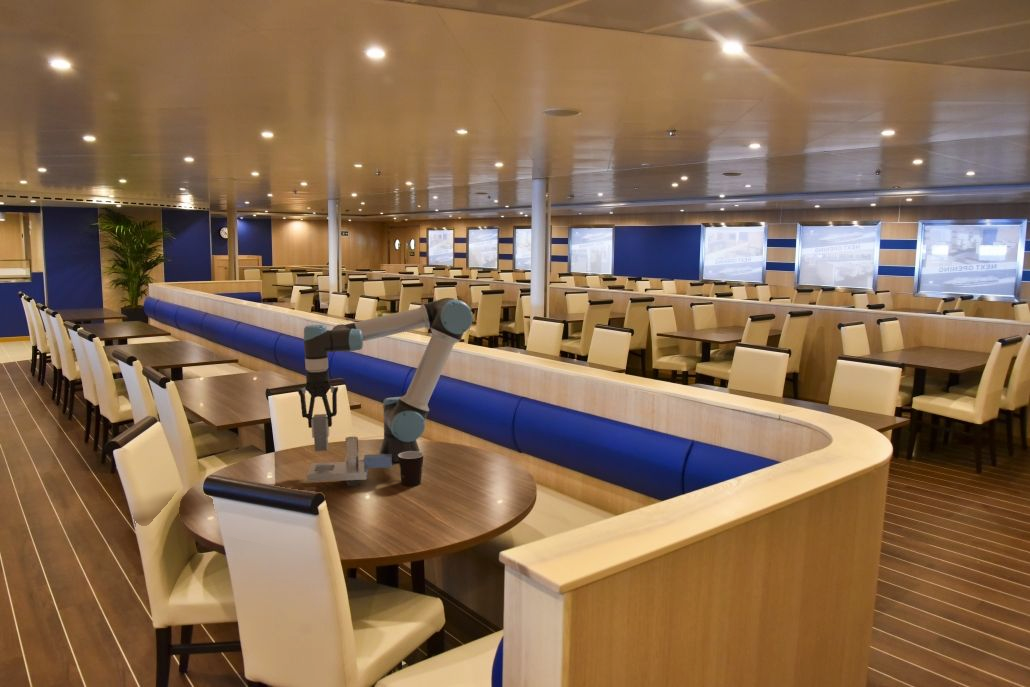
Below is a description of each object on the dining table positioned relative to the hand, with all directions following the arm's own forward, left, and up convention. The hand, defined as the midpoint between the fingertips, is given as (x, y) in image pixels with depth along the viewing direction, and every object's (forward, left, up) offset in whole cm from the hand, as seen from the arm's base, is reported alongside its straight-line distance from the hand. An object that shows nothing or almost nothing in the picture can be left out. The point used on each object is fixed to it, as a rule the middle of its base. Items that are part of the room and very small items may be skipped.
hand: (320, 436), depth 243 cm
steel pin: (0, 0, -5) cm, 5 cm away
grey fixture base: (-11, +11, -14) cm, 21 cm away
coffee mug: (-31, +11, -14) cm, 36 cm away
